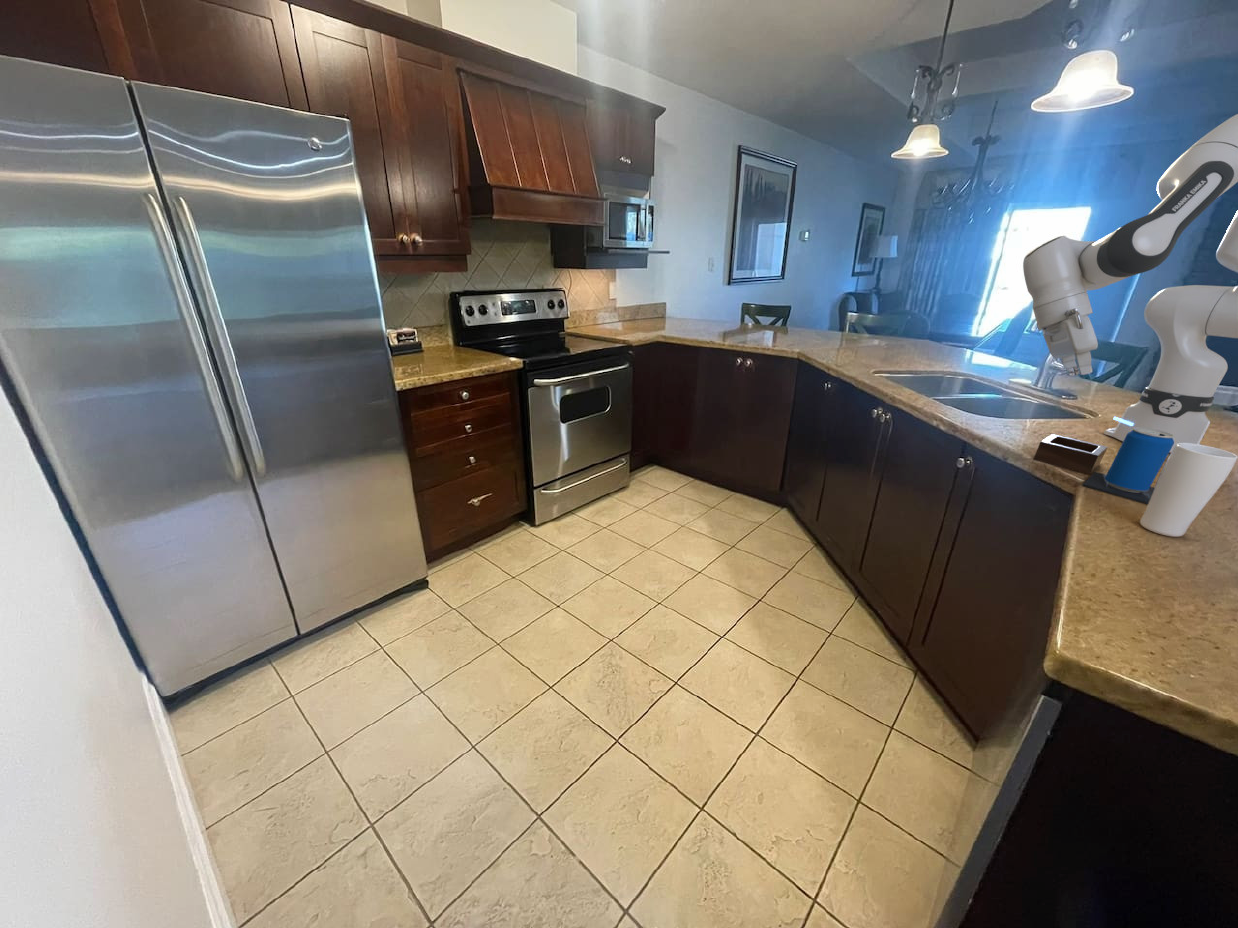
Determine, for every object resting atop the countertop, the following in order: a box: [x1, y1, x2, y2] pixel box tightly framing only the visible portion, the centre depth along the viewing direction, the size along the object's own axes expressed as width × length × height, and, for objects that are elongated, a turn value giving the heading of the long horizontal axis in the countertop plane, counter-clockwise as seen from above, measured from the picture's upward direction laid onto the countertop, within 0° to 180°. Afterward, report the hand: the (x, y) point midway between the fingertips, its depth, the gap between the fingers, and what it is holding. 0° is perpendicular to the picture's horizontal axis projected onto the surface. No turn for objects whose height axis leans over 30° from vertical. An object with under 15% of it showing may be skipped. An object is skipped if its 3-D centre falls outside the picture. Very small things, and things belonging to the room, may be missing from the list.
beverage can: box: [1105, 427, 1174, 493], centre depth 94 cm, size 6×6×12 cm
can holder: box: [1032, 433, 1108, 475], centre depth 109 cm, size 10×10×4 cm
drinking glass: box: [1139, 443, 1238, 538], centre depth 79 cm, size 7×7×15 cm
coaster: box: [1081, 471, 1155, 505], centre depth 97 cm, size 11×11×1 cm
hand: (1080, 374), depth 103 cm, fingers open, 8 cm apart
